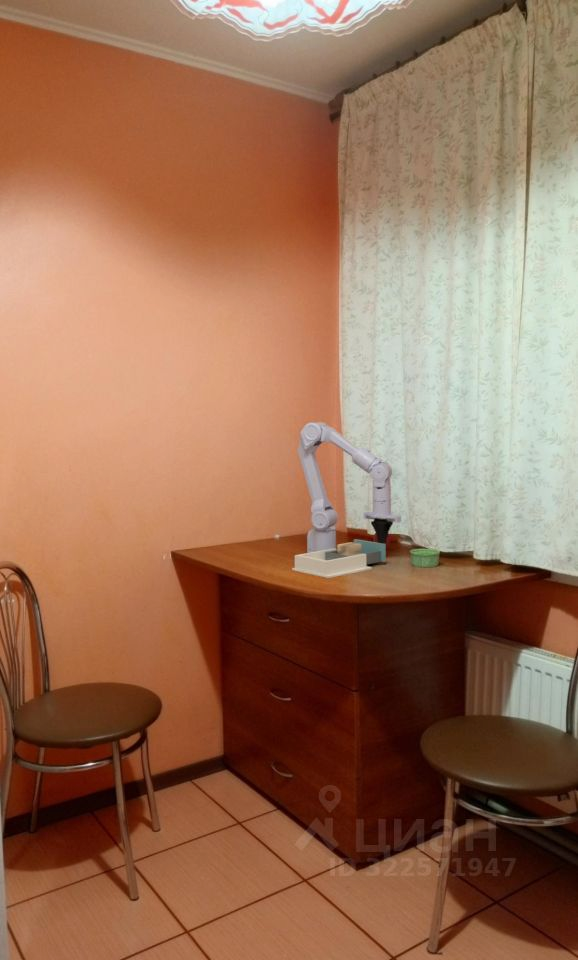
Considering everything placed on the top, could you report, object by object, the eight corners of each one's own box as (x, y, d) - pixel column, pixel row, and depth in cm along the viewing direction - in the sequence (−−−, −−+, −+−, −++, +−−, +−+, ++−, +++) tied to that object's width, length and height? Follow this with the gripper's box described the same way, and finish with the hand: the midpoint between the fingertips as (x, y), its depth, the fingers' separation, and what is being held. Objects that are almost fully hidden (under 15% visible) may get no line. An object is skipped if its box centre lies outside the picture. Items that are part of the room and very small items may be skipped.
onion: (392, 548, 259) (392, 525, 258) (387, 551, 253) (387, 528, 253) (376, 547, 261) (376, 525, 260) (371, 550, 256) (371, 527, 255)
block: (337, 560, 230) (337, 544, 229) (351, 558, 234) (351, 542, 233) (347, 562, 226) (347, 546, 226) (361, 559, 230) (361, 543, 230)
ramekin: (445, 565, 230) (445, 550, 230) (427, 569, 224) (427, 555, 224) (422, 561, 237) (422, 547, 236) (404, 565, 230) (404, 551, 230)
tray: (355, 556, 241) (355, 539, 241) (385, 561, 231) (385, 543, 231) (322, 562, 232) (322, 544, 231) (352, 568, 222) (352, 550, 221)
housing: (334, 561, 237) (334, 547, 237) (371, 569, 225) (371, 554, 225) (292, 570, 226) (291, 554, 225) (328, 578, 214) (328, 562, 213)
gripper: (356, 500, 241) (357, 541, 242) (390, 503, 230) (390, 547, 231) (371, 498, 246) (372, 539, 247) (405, 501, 235) (405, 544, 236)
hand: (382, 542), depth 239 cm, fingers closed
